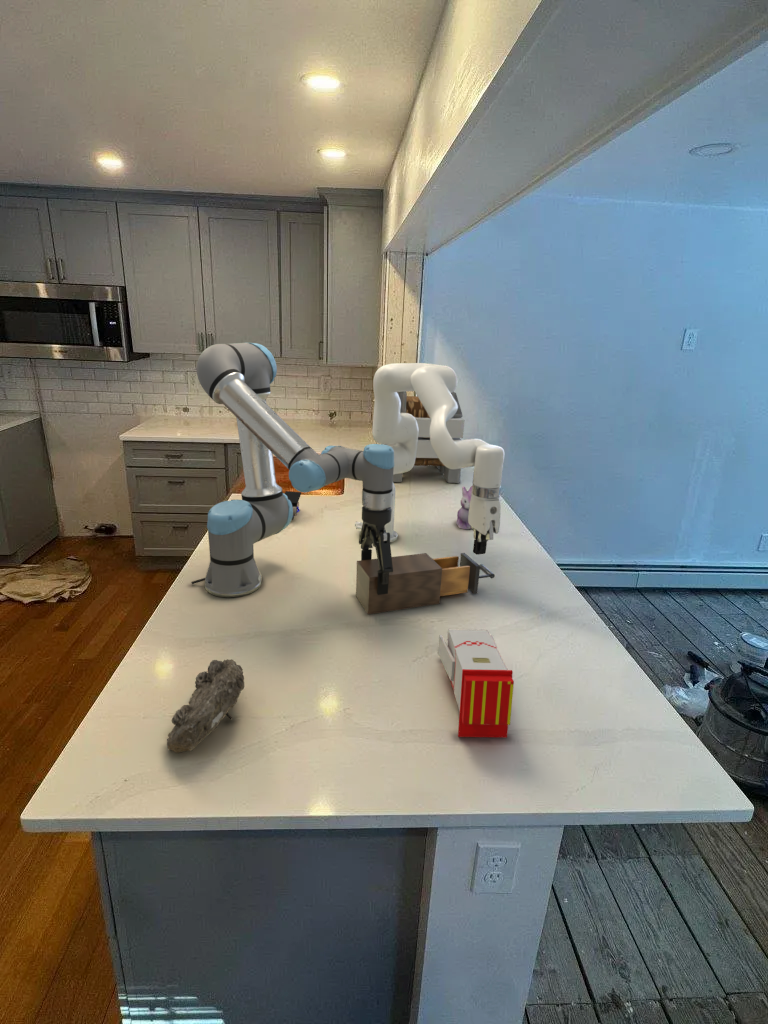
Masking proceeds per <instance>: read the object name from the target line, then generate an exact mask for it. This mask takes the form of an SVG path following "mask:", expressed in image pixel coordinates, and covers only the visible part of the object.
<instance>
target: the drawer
mask: <svg viewBox="0 0 768 1024" xmlns="http://www.w3.org/2000/svg"><path fill="white" fill-rule="evenodd" d="M432 559H433V560H434V561H435V562H436V563H437V564H438V565H439V566H440V567H441V568H442V577H441V589H440V597H444V596H445V597H446V596H450V595H452V596H453V595H458V594H464V593H465V594H466V593H468V592H470V593H472V595H478V591H479V582H480V579H486V578H487V579H488V578H490V579H491V580H493V579H495V578H496V575H495V573H494V572H493V571H491V570H490V569H489V568H488V567H487V566H485V565H484V564H482V563H480V564H479V563H478V562H477V561H475V560H474V559H473V558H471V557H470V556H469V555H468V554H467V553H465V552H461V553H460V557H459V555H452V556H445V557H437V558H432ZM480 572H482V573H484V574H482V575H480Z"/></svg>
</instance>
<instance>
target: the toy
mask: <svg viewBox="0 0 768 1024" xmlns="http://www.w3.org/2000/svg"><path fill="white" fill-rule="evenodd" d="M446 640H447V643H446V641H445V639H444V636H443V635H442V634H439V637H438V646H437V656H438V657H439V659H440V661H441V663H442V666H443V668H444V670H445V672H446V674H447V677H448V679H449V681H450V684H451V687H452V690H453V693H454V697H455V701H456V705H457V708H458V711H459V714H458V715H459V716H458V730H457V731H458V732H457V737H458V738H508V731H509V726H510V725H511V717H512V707H513V697H514V696H513V695H514V684H515V680H514V679H513V673H514V671H513V670H512V669H508V667H507V665H506V662H505V661H504V659H503V658H502V655H501V653H500V651H499V649H498V647H497V643H496V639H495V637H494V635H493V634H491V632H490V631H489V629H467V628H466V629H465V628H463V629H461V628H460V629H459V628H448V630H447V639H446Z"/></svg>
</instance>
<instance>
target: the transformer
mask: <svg viewBox="0 0 768 1024" xmlns="http://www.w3.org/2000/svg"><path fill="white" fill-rule="evenodd" d="M397 393H398V395H399V398H400V401H401V409H400V413H409V414H411V415H412V416H414V418H415V419H416V421H417V424H418V442H417V451H416V459H415V464H414V466H413V467H415V466H416V467H417V466H418V467H436V468H437V470H438V469H439V473H440V474H441V475H443V478H444V479H445V481H446V482H447V483H449V484H455V483H456V484H459V483H461V472H462V468H460V469H449V468H447V467H446V466H444V465H443V463H442V462H441V461H440V459H439V458H438V456H437V454H436V453H435V451H434V449H433V447H432V445H431V441H430V424H431V418H430V417H429V415H428V413H427V411H426V410H425V408H424V406H423V405H422V403H421V401H420V400H419V398H418V396H417V395H416V396H415V395H414V396H413V395H412V396H411V395H407V394H408V393H407V391H404V392H397ZM451 395H452V396H453V398H454V400H455V401H456V403H457V405H458V409H457V412H456V413H455V415H454V416H453V417H452V418H451V419H449V420H448V421H447V422H446V428H447V430H448V432H449V434H450V436H451V437H452V439H453V441H459V440H462V439H463V438H464V431H465V430H464V429H465V419H464V418H463V411H462V408H461V405H460V402H459V398H458V395H457V392H455V390H454V391H453V392H452V393H451ZM384 445H388V446H395V445H396V443H393V444H384ZM403 475H404V473H399V474H394V475H393V483H402V482H403Z"/></svg>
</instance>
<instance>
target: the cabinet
mask: <svg viewBox="0 0 768 1024" xmlns="http://www.w3.org/2000/svg"><path fill="white" fill-rule="evenodd" d="M433 559H434V558H432V557H431V556H430V555H429V554H428V553H426V552H422V553H415V554H404V555H397V556H392V565H393V572H391V573H389V581H388V594H382V595H378V594H377V580H378V573H377V571H378V570H379V564H378V559H377V558H372V559H369V560H361V559H360V560H357V561H356V574H355V575H356V577H355V578H356V581H355V597H356V598H357V600H358V601H359V603H360V604H361V606H362V608H363V609H364V611H365V612H366V614H367V615H373V614H379V613H387V612H393V611H399V610H406V609H407V610H408V609H414V608H421V607H426V606H427V607H428V606H433V605H439V604H440V602H441V601H440V598H441V596H440V589H441V577H442V568H441V567H440V566H439V565H438V564H437V563H436V562H435V561H434V560H433Z"/></svg>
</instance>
